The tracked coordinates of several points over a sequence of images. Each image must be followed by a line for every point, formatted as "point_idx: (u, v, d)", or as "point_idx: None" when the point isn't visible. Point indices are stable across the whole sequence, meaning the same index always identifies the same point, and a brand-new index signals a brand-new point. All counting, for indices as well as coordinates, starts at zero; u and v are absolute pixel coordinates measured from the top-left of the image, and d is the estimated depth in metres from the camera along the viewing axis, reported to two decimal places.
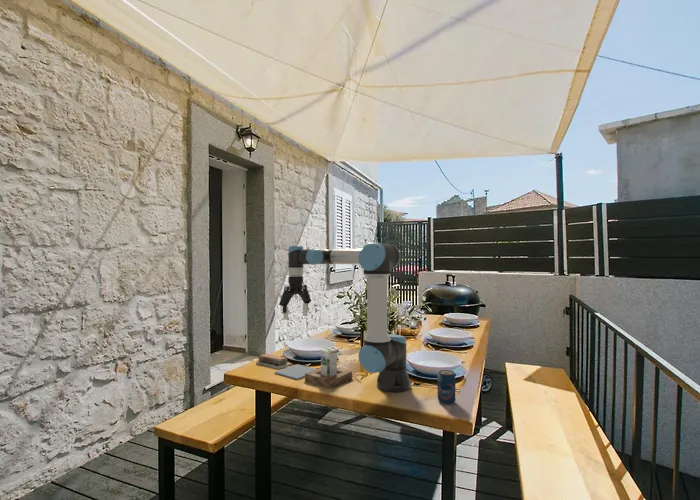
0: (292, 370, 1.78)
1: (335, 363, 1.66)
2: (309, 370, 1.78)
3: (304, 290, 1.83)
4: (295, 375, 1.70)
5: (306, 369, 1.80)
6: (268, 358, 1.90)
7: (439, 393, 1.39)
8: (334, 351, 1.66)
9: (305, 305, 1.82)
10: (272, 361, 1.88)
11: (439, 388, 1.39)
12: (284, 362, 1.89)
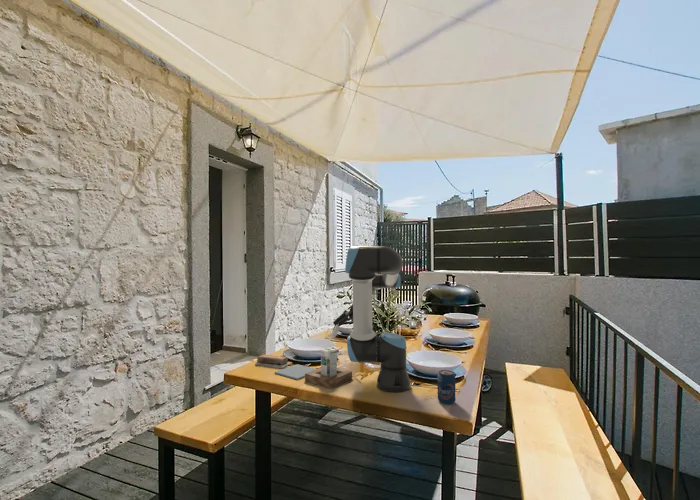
0: (292, 370, 1.78)
1: (335, 363, 1.66)
2: (309, 370, 1.78)
3: None
4: (295, 375, 1.70)
5: (306, 369, 1.80)
6: (268, 358, 1.89)
7: (439, 393, 1.39)
8: (334, 351, 1.66)
9: None
10: (273, 361, 1.88)
11: (439, 388, 1.39)
12: (285, 361, 1.90)
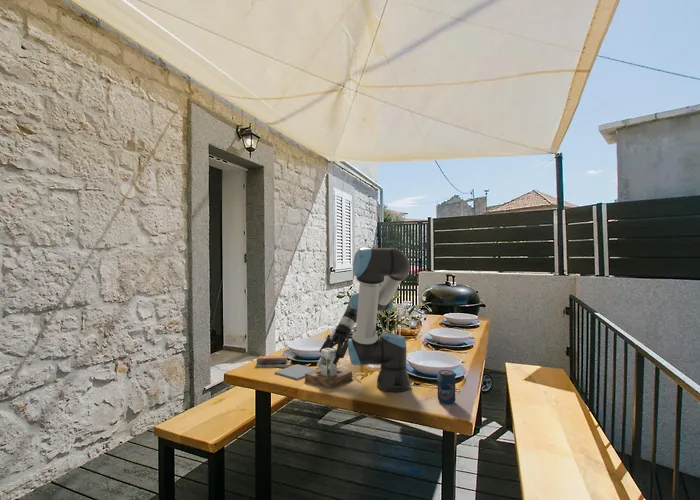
0: (292, 370, 1.78)
1: None
2: (309, 370, 1.78)
3: None
4: (295, 375, 1.70)
5: (306, 369, 1.80)
6: (270, 359, 1.88)
7: (439, 393, 1.39)
8: (334, 351, 1.66)
9: None
10: (276, 361, 1.88)
11: (439, 388, 1.39)
12: (286, 360, 1.92)
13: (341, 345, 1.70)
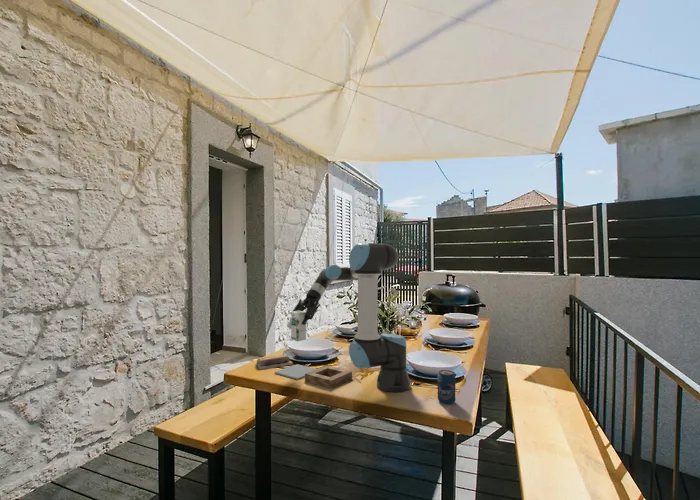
0: (292, 370, 1.78)
1: None
2: (309, 370, 1.78)
3: None
4: (295, 375, 1.70)
5: (306, 369, 1.80)
6: (273, 359, 1.88)
7: (439, 393, 1.39)
8: (303, 313, 1.77)
9: None
10: (279, 360, 1.89)
11: (439, 388, 1.39)
12: None
13: (311, 308, 1.82)
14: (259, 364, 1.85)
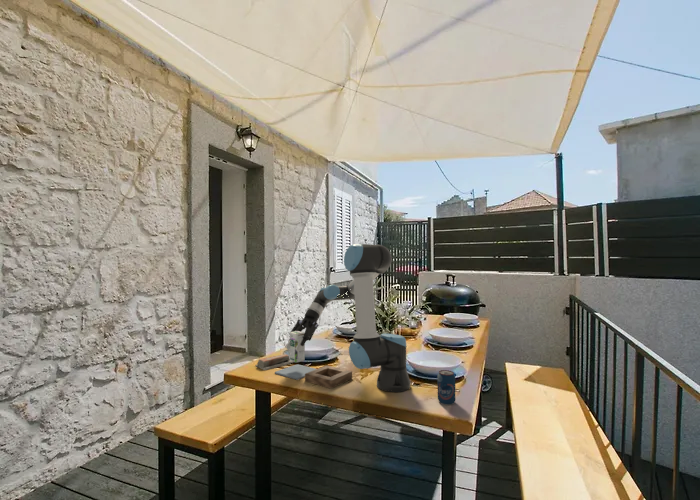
0: (292, 370, 1.78)
1: None
2: (309, 370, 1.78)
3: None
4: (295, 375, 1.70)
5: (306, 369, 1.80)
6: (275, 359, 1.88)
7: (439, 393, 1.39)
8: (302, 333, 1.77)
9: None
10: (280, 360, 1.90)
11: (439, 388, 1.39)
12: None
13: (309, 328, 1.82)
14: (262, 365, 1.83)
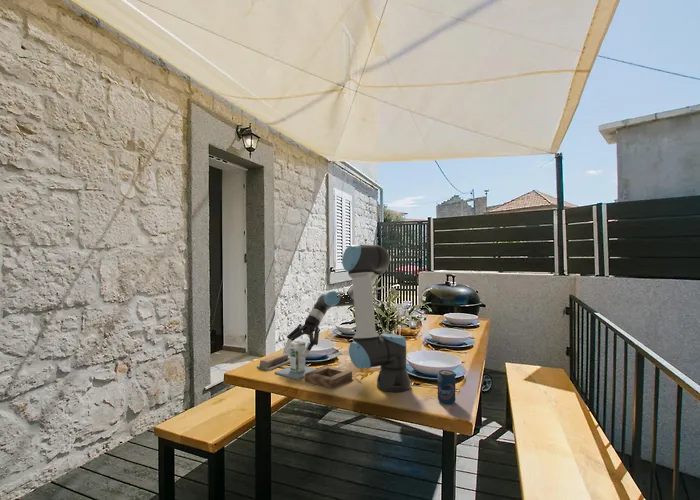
0: None
1: None
2: (309, 370, 1.78)
3: None
4: (295, 375, 1.70)
5: (306, 369, 1.80)
6: (277, 359, 1.88)
7: (439, 393, 1.39)
8: (303, 343, 1.77)
9: None
10: (281, 359, 1.91)
11: (439, 388, 1.39)
12: None
13: (312, 334, 1.81)
14: (266, 365, 1.82)
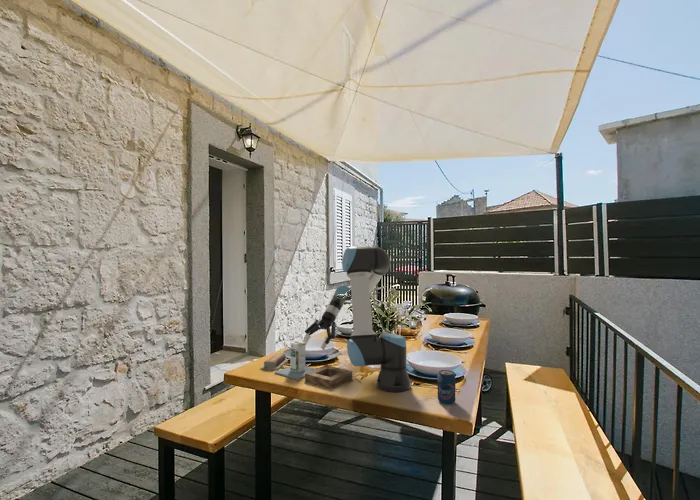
0: None
1: (304, 355, 1.77)
2: (309, 370, 1.78)
3: None
4: (295, 375, 1.70)
5: (306, 369, 1.80)
6: (279, 358, 1.89)
7: (439, 393, 1.39)
8: (303, 344, 1.77)
9: None
10: (282, 359, 1.92)
11: (439, 388, 1.39)
12: None
13: (329, 328, 1.92)
14: (272, 366, 1.82)
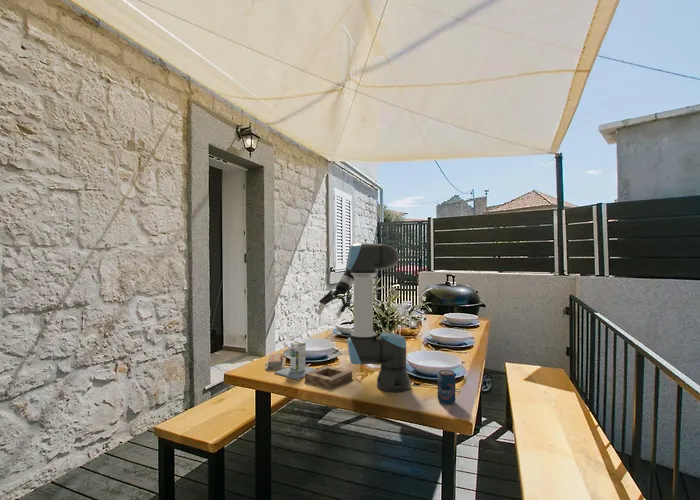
0: None
1: (304, 355, 1.77)
2: (309, 370, 1.78)
3: None
4: (295, 375, 1.70)
5: (306, 369, 1.80)
6: (281, 358, 1.90)
7: (439, 393, 1.39)
8: (303, 344, 1.77)
9: None
10: (281, 358, 1.93)
11: (439, 388, 1.39)
12: None
13: (343, 298, 1.92)
14: (278, 365, 1.83)
